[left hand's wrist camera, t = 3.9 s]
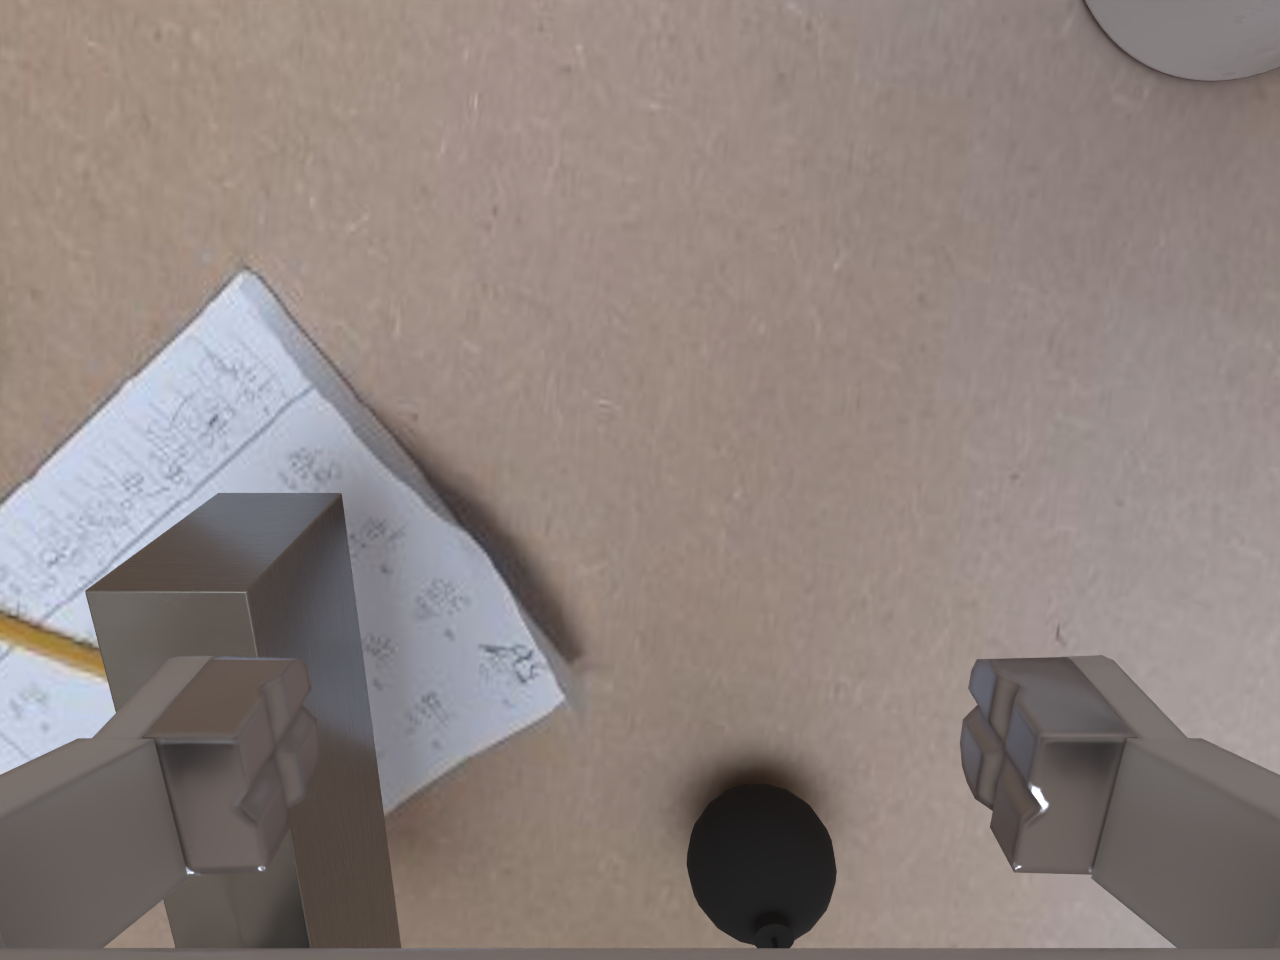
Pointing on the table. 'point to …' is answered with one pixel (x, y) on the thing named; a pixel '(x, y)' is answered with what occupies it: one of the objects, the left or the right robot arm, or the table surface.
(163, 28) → the table surface
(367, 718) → the bar
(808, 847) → the bomb
